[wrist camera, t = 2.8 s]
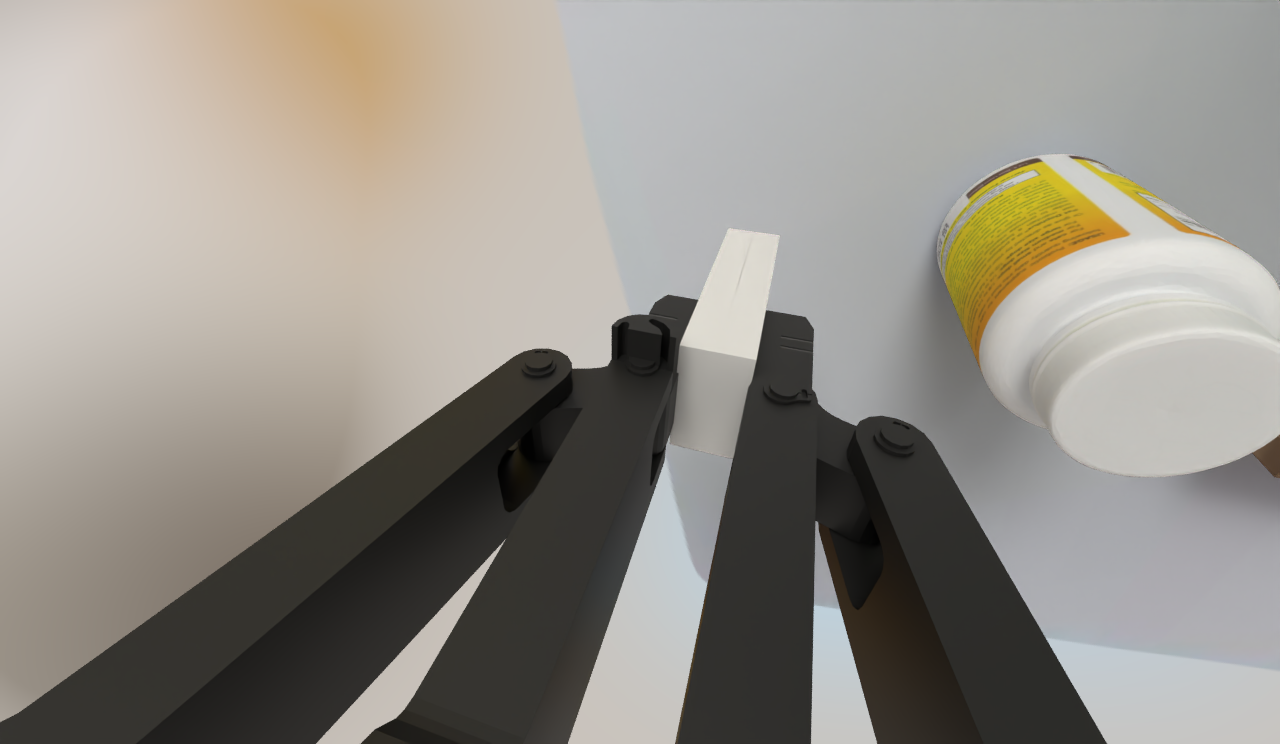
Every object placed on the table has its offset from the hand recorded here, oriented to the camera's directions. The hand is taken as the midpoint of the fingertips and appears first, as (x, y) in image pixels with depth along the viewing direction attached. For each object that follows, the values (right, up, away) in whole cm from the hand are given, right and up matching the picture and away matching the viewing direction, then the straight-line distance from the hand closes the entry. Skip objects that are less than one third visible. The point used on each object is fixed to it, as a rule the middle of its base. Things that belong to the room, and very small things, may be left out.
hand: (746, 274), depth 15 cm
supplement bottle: (+11, +2, +3) cm, 11 cm away
